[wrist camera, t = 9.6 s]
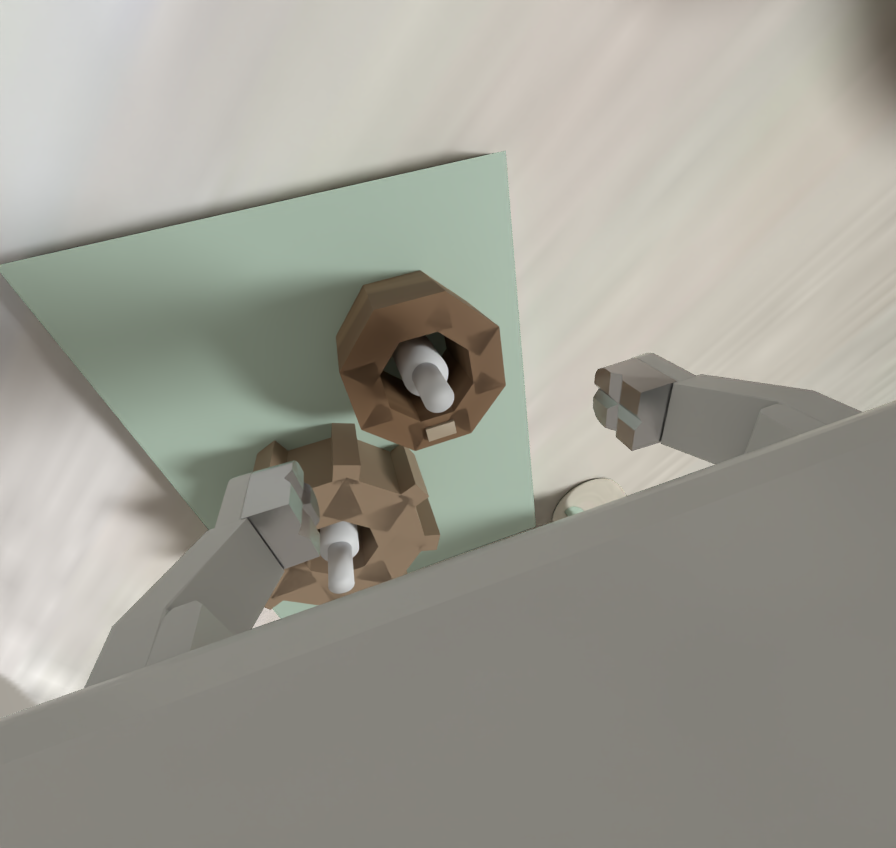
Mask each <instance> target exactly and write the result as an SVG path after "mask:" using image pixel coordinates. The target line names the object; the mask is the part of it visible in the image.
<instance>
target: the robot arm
mask: <svg viewBox="0 0 896 848" xmlns="http://www.w3.org/2000/svg"><path fill="white" fill-rule="evenodd" d="M594 384H595V385H596V386H597V387H598V388H599V389H598V391H597V392H596V394H595V396H594V397H593V409H594V412H595V415H596V417H597V419H598V420H599V422H600V423H601V424H602V425H603V426H604V427H605V428H608V429H611V430H615V431H616V437H617V438H618V439H619V440H620V441H621V442H622V443H623V444H625V445H626V446H627V447H628V448H629V449H630V450H631V451H633V450H637V449H640V448H643V447H647V446H650V445H653V444H656V443H660V442H661V444H663V445H666V446H669V447H671V448H674V449H676V450H679V451H682V452H684V453H687V454H690V455H692V456H695V457H697V458H700V459H703V460H705V461H708V462H711V463H713V464H716V465H713V466H710V467H707V468H704V469H702V470H699V471H696V472H693V473H690V474H688V475H685V476H682V477H679V478H676V479H673V480H671V481H668V482H665V483H662V484H659V485H656V486H654V487H651V488H648V489H645V490H642V491H639V492H637V493H634V494H631V495H628V496H625V497H622V498H619V499H617V500H614V501H611V502H608V503H605V504H602V505H600V506H597V507H594V508H591V509H588V510H585V511H583V512H580V513H577V514H574V515H571V516H569V517H566V518H563V519H560V520H557V521H555V522H552V523H549V524H546V525H543V526H540V527H538V528H535V529H532V530H529V531H526V532H524V533H521V534H518V535H515V536H512V537H510V538H507V539H504V540H501V541H498V542H495V543H493V544H490V545H487V546H484V547H481V548H479V549H476V550H473V551H470V552H467V553H465V554H462V555H459V556H456V557H453V558H450V559H448V560H445V561H442V562H439V563H436V564H434V565H431V566H428V567H425V568H422V569H419V570H417V571H414V572H411V573H408V574H405V575H403V576H400V577H397V578H394V579H391V580H388V581H386V582H383V583H380V584H377V585H374V586H372V587H369V588H366V589H363V590H360V591H357V592H355V593H352V594H349V595H346V596H343V597H341V598H338V599H335V600H332V601H329V602H326V603H324V604H321V605H318V606H315V607H312V608H310V609H307V610H304V611H301V612H298V613H295V614H293V615H290V616H287V617H284V618H281V619H279V620H276V621H273V622H270V623H267V624H264V625H262V626H259V627H256V628H253V629H252V627H253V626H254V624H255V622H256V620H257V619H258V617H259V615H260V614H261V612H262V610H263V608H264V607H265V605H266V603H267V601H268V600H269V598H270V596H271V594H272V593H273V591H274V589H275V587H276V586H277V584H278V582H279V580H280V579H281V577H282V575H283V573H284V572H285V571H284V569H287V568H289V567H292V566H295V565H298V564H300V563H303V562H306V561H309V560H311V559H314V558H317V557H319V556H320V534H319V532H318V530H317V528H316V526H317V524H318V523H319V521H320V511H319V506H318V501H317V498H316V496H315V493H314V491H313V489H312V487H311V485H309V484H307V483H305V482H304V472H303V470H302V468H301V466H300V465H299V463H298V462H297V461H295V460H294V461H290V462H286V463H283V464H279V465H276V466H272V467H269V468H265V469H261V470H258V471H254V472H251V473H247V474H244V475H241V476H238V477H234V478H232V479H231V480H229V482H228V485H227V488H226V491H225V495H224V498H223V501H222V505H221V508H220V511H219V515H218V518H217V522H216V525H215V528H213V529H210V530H207V532H206V533H205V534H204V535H203V536H202V537H201V538H200V539H199V540H198V541H197V542H196V543H195V544H194V545H193V546H192V547H191V548H190V549H189V550H188V551H187V552H186V553H185V554H184V555H183V556H182V557H181V558H180V559H179V560H178V561H177V562H176V563H175V564H174V565H173V566H172V567H171V568H170V569H169V570H168V571H167V572H166V573H165V574H164V575H163V576H162V577H161V578H160V579H159V580H158V581H157V582H156V583H155V584H154V585H153V586H152V587H151V588H150V589H149V590H148V591H147V592H146V593H145V594H144V595H143V596H142V597H141V598H140V599H139V600H138V601H137V602H136V603H135V604H134V605H133V606H132V607H131V608H130V609H129V610H128V611H127V612H126V613H125V614H124V615H123V616H122V617H121V618H120V619H119V620H118V621H117V622H116V623H115V624H114V625H113V626H112V628H111V631H110V633H109V635H108V637H107V639H106V642H105V644H104V646H103V648H102V650H101V652H100V655H99V657H98V659H97V661H96V663H95V666H94V668H93V670H92V672H91V674H90V676H89V679H88V681H87V683H86V685H85V687H84V689H81V690H78V691H75V692H73V693H70V694H67V695H64V696H61V697H58V698H56V699H53V700H50V701H47V702H44V703H41V704H39V705H36V706H33V707H30V708H27V709H25V710H22V711H19V712H16V713H13V714H11V715H8V716H5V717H2V718H0V848H896V401H893V402H890V403H887V404H884V405H882V406H879V407H876V408H873V409H870V410H867V411H865V412H861V411H859V410H857V409H854V408H852V407H850V406H848V405H845V404H843V403H841V402H838V401H836V400H834V399H832V398H829V397H827V396H825V395H823V394H820V393H818V392H816V391H813V390H807V389H800V388H793V387H786V386H779V385H772V384H765V383H759V382H752V381H745V380H738V379H731V378H724V377H717V376H710V375H703V374H700V375H697V376H696V375H694V374H692V373H690V372H688V371H686V370H684V369H683V368H681V367H679V366H677V365H675V364H673V363H671V362H669V361H667V360H666V359H664V358H662V357H660V356H658V355H656V354H654V353H645V354H642V355H639V356H636V357H634V358H631V359H629V360H625V361H622V362H619V363H616V364H613V365H610V366H607V367H604V368H600V369H598V370H597V372H596V374H595V382H594Z"/></svg>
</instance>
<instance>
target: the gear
mask: <svg viewBox="0 0 896 848" xmlns="http://www.w3.org/2000/svg"><path fill="white" fill-rule="evenodd" d="M435 332H439V333H441V334H442V335H444V337H445V343H446V350H445V351H444V353H443V354H442V356H441V357H442V359H443V360H444V361H445V363H446V365H447V367H448V379H447V383H448V384H449V386H450V387H451V389H452V390H453V392H454V401H453V404H452V405H451V406H450V408H448V409H447V410H446V411H444V412H440V413H434V412H430V411H429V410H427V409H426V407H425V406H424V403H423V401H422V399H421V397H420V396H417V395H414V394H413V393H411V392H410V391H409V390H408V389H407V388H406V386H405V384H404V382H403V380H401V379H399V378H397V377H395V376H393V375H391V374H389V373H387V372H385V371H383V369H384V368H385V366H386V364H387V363H388V361H389V359H390V358H391V356H392V354H393V353H394V351H395V349H396V347H397V346H398V344H399V343H400V342H403V341H407V340H410V339H414V338H417V337H421V336H424V335H428V334H432V333H435ZM336 344H337V355H338V366H339V373H340V376H341V379H342V381H343V384H344V386H345V389H346V392H347V394H348V397H349V399H350V402H351V405H352V407H353V410H354V412H355V415H356V418H357V420H358V423H359V426H360V428H361V430H363V431H365V432H368V433H370V434H373V435H375V436H378V437H381V438H383V439H386V440H388V441H391V442H393V443H396V444H398V445H401V446H404V447H406V448H409V449H411V450H414V451H417V450H420V449H423V448H427V447H430V446H433V445H436V444H439V443H442V442H445V441H448V440H451V439H455V438H458V437H461V436H464V435H467V434H470V433H472V432H473V430H474V429H475V427H476V426H477V425H478V423H479V422H480V421H481V419H482V418H483V416H484V415H485V414H486V412H487V411H488V409H489V408H490V407H491V405H492V404H493V403H494V401H495V400H496V398H497V397H498V396H499V394H500V393H501V391H502V390H503V389H504V387H505V386H506V382H505V373H504V364H503V355H502V346H501V337H500V328H499V326H498V325H497V324H495V323H494V322H493V321H491V320H490V319H489V318H488V317H486V316H485V315H484V314H482V313H481V312H480V311H479V310H477V309H476V308H475V307H473V306H472V305H471V304H470V303H468V302H467V301H466V300H464V299H463V298H461V297H460V296H458V295H457V294H455V293H454V292H452V291H451V290H449V289H448V288H446V287H445V286H443V285H442V284H440V283H439V282H437V281H436V280H434V279H433V278H431V277H430V276H428V275H427V274H425V273H424V272H422V271H421V270H419V271H415V272H412V273H408V274H404V275H400V276H396V277H392V278H388V279H385V280H381V281H377V282H373V283H369V284H365V285H363V286H362V288H361V290H360V292H359V294H358V295H357V297H356V299H355V301H354V303H353V305H352V307H351V309H350V311H349V312H348V314H347V316H346V318H345V320H344V322H343V324H342V326H341V328H340V329H339V331H338V333H337V335H336Z"/></svg>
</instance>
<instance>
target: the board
mask: <svg viewBox="0 0 896 848" xmlns="http://www.w3.org/2000/svg"><path fill="white" fill-rule="evenodd" d="M419 270H421V271H422V272H424V273H425V274H427V275H428V276H430V277H431V278H433V279H434V280H436V281H437V282H439V283H440V284H442V285H443V286H445V287H446V288H448V289H449V290H451V291H452V292H454V293H455V294H457V295H458V296H460V297H461V298H463V299H464V300H466V301H467V302H468V303H470V304H471V305H472V306H473V307H475V308H476V309H477V310H479V311H480V312H481V313H482V314H484V315H485V316H486V317H488V318H489V319H490V320H491V321H493V322H494V323H495V324H497V325H498V326H499V328H500V337H501V346H502V355H503V364H504V373H505V382H506V386H505V387H504V389H503V390H502V391H501V393H500V394H499V396H498V397H497V398H496V400H495V401H494V403H493V404H492V405H491V407H490V408H489V409H488V411H487V412H486V414H485V415H484V416H483V418H482V419H481V421H480V422H479V423H478V425H477V426H476V427H475V429H474V430H473V432H472V433H470V434H467V435H464V436H461V437H458V438H455V439H451V440H448V441H445V442H442V443H439V444H436V445H433V446H430V447H427V448H423V449H420V450H417V451H414V450H411V449H409V448H406V447H404V446H401V445H398V444H396V443H393V442H391V441H388V440H386V439H383V438H381V437H378V436H375V435H373V434H370V433H368V432H365V431H363V430H361V428H360V426H359V423H358V420H357V418H356V415H355V412H354V410H353V407H352V405H351V402H350V399H349V397H348V394H347V392H346V389H345V386H344V384H343V381H342V379H341V376H340V373H339V366H338V355H337V344H336V335H337V333H338V331H339V329H340V328H341V326H342V324H343V322H344V320H345V318H346V316H347V314H348V312H349V311H350V309H351V307H352V305H353V303H354V301H355V299H356V297H357V295H358V294H359V292H360V290H361V288H362V286H363V285H365V284H369V283H373V282H377V281H381V280H385V279H388V278H392V277H396V276H400V275H404V274H408V273H412V272H415V271H419ZM0 273H1V274H2V276H3V277H4V278H5V279H6V281H7V282H8V283H9V284H10V285H11V287H12V288H13V289H14V290H15V292H16V293H17V294H18V295H19V297H20V298H21V299H22V300H23V302H24V303H25V304H26V305H27V306H28V308H29V309H30V310H31V311H32V313H33V314H34V315H35V316H36V318H37V319H38V320H39V321H40V322H41V324H42V325H43V326H44V327H45V329H46V330H47V331H48V332H49V334H50V335H51V336H52V337H53V339H54V340H55V341H56V342H57V343H58V345H59V346H60V347H61V348H62V350H63V351H64V352H65V353H66V355H67V356H68V357H69V358H70V359H71V361H72V362H73V363H74V364H75V366H76V367H77V368H78V369H79V371H80V372H81V373H82V374H83V376H84V377H85V378H86V379H87V380H88V382H89V383H90V384H91V385H92V387H93V388H94V389H95V390H96V392H97V393H98V394H99V395H100V396H101V398H102V399H103V400H104V401H105V403H106V404H107V405H108V406H109V408H110V409H111V410H112V411H113V413H114V414H115V415H116V416H117V417H118V419H119V420H120V421H121V422H122V424H123V425H124V426H125V427H126V429H127V430H128V431H129V432H130V433H131V435H132V436H133V437H134V438H135V440H136V441H137V442H138V443H139V445H140V446H141V447H142V448H143V450H144V451H145V452H146V453H147V454H148V456H149V457H150V458H151V459H152V461H153V462H154V463H155V464H156V466H157V467H158V468H159V469H160V470H161V472H162V473H163V474H164V475H165V477H166V478H167V479H168V480H169V482H170V483H171V484H172V485H173V487H174V488H175V489H176V490H177V491H178V493H179V494H180V495H181V496H182V498H183V499H184V500H185V501H186V503H187V504H188V505H189V506H190V507H191V509H192V510H193V511H194V512H195V514H196V515H197V516H198V517H199V519H200V520H201V521H202V522H203V524H204V525H205V526H206V527H207V528H208V530H210V529H213V528H215V525H216V522H217V518H218V515H219V511H220V508H221V505H222V501H223V498H224V495H225V491H226V488H227V485H228V482H229V480H231V479H232V478H234V477H238V476H241V475H244V474H247V473H251V472H254V471H258V470H261V469H265V468H269V467H272V466H276V465H279V464H283V463H286V462H290V461H294V460H295V461H297V462H298V463H299V465H300V466H301V468H302V470H303V472H304V482H305V483H307V484H309V485H311V487H312V489H313V491H314V493H315V496H316V498H317V501H318V506H319V511H320V521H319V523H318V524H317V526H316V528H317V530H318V532H319V534H320V556H319V557H317V558H314V559H311V560H309V561H306V562H303V563H300V564H298V565H295V566H292V567H289V568H287V569H284V571H285V572H284V573H283V575H282V577H281V579H280V580H279V582H278V584H277V586H276V587H275V589H274V591H273V593H272V594H271V596H270V598H269V600H268V601H267V603H266V605H265V608H267V609H270V610H271V609H273V610H274V611H275V612H276V614H277V615H278V616H279V617H280V618H284V617H287V616H290V615H293V614H295V613H298V612H301V611H304V610H307V609H310V608H312V607H315V606H318V605H321V604H324V603H326V602H329V601H332V600H335V599H338V598H341V597H343V596H346V595H349V594H352V593H355V592H357V591H360V590H363V589H366V588H369V587H372V586H374V585H377V584H380V583H383V582H386V581H388V580H391V579H394V578H397V577H400V576H403V575H405V574H407V573H410V572H413V571H416V570H418V569H421V568H424V567H427V566H429V565H432V564H435V563H438V562H440V561H443V560H446V559H448V558H451V557H454V556H457V555H459V554H462V553H465V552H468V551H470V550H473V549H476V548H479V547H481V546H484V545H487V544H490V543H492V542H495V541H498V540H501V539H503V538H506V537H509V536H512V535H514V534H517V533H520V532H523V531H525V530H528V529H531V528H534V527H536V521H535V509H534V496H533V484H532V472H531V459H530V447H529V435H528V422H527V410H526V398H525V385H524V373H523V360H522V348H521V336H520V323H519V311H518V299H517V286H516V274H515V261H514V249H513V237H512V224H511V212H510V200H509V187H508V175H507V162H506V151H502V152H497V153H492V154H488V155H483V156H479V157H475V158H470V159H466V160H461V161H457V162H452V163H448V164H444V165H439V166H435V167H430V168H426V169H421V170H417V171H412V172H408V173H404V174H399V175H395V176H390V177H386V178H381V179H377V180H373V181H368V182H364V183H359V184H355V185H350V186H346V187H342V188H337V189H333V190H328V191H324V192H319V193H315V194H310V195H306V196H302V197H297V198H293V199H288V200H284V201H279V202H275V203H271V204H266V205H262V206H257V207H253V208H248V209H244V210H239V211H235V212H231V213H226V214H222V215H217V216H213V217H208V218H204V219H200V220H195V221H191V222H186V223H182V224H177V225H173V226H168V227H164V228H160V229H155V230H151V231H146V232H142V233H137V234H133V235H129V236H124V237H120V238H115V239H111V240H106V241H102V242H97V243H93V244H89V245H84V246H80V247H75V248H71V249H66V250H62V251H58V252H53V253H49V254H44V255H40V256H35V257H31V258H26V259H22V260H18V261H14V262H9V263H5V264H1V265H0ZM445 350H446V343H445V337H444V335H442V334H441V333H439V332H435V333H432V334H428V335H424V336H421V337H417V338H414V339H410V340H407V341H403V342H400V343H399V344H398V346H397V347H396V349H395V351H394V353H393V354H392V356H391V358H390V359H389V361H388V363H387V364H386V366H385V368H384V369H383V371H385V372H387V373H389V374H391V375H393V376H395V377H397V378H399V379H401V380H403V382H404V384H405V386H406V388H407V389H408V390H409V391H410V392H411V393H413V394H414V395H417V396H420V397H421V399H422V401H423V403H424V406H425V407H426V409H427V410H429V411H430V412H434V413H440V412H444V411H446V410H447V409H448V408H450V406H451V405H452V404H453V401H454V392H453V390H452V389H451V387H450V386H449V384H448V383H447V379H448V367H447V365H446V363H445V361H444V360H443V359H442V357H441V356H442V354H443V353H444V351H445Z"/></svg>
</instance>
